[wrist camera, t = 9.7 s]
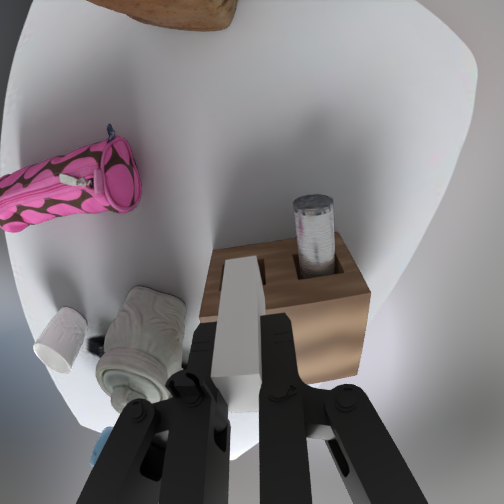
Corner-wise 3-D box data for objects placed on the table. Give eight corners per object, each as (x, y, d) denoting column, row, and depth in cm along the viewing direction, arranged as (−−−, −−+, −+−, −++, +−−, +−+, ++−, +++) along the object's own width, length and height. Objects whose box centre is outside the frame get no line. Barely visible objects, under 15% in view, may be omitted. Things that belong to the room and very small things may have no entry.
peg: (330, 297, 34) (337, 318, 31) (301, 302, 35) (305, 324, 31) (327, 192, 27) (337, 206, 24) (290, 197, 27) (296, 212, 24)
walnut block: (337, 312, 41) (356, 375, 31) (235, 326, 42) (231, 392, 32) (338, 231, 34) (371, 292, 24) (212, 250, 35) (198, 317, 25)
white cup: (50, 309, 42) (26, 346, 33) (71, 299, 40) (45, 340, 32) (75, 337, 46) (56, 375, 37) (98, 330, 44) (79, 372, 36)
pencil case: (135, 116, 26) (90, 128, 18) (152, 194, 31) (119, 233, 23) (17, 163, 28) (-29, 189, 19) (35, 221, 33) (-3, 256, 24)
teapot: (162, 361, 48) (142, 450, 32) (98, 314, 42) (56, 404, 26) (225, 327, 43) (217, 439, 27) (152, 265, 37) (102, 380, 20)
